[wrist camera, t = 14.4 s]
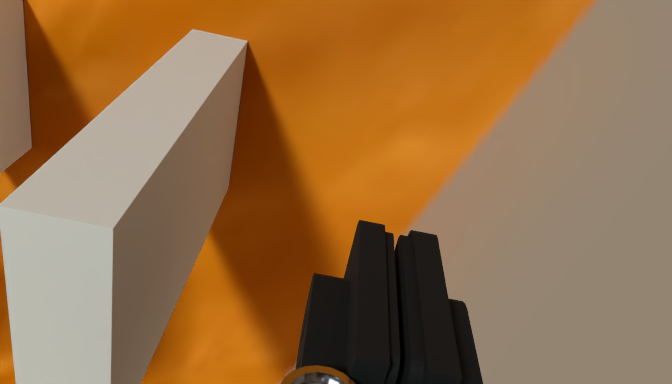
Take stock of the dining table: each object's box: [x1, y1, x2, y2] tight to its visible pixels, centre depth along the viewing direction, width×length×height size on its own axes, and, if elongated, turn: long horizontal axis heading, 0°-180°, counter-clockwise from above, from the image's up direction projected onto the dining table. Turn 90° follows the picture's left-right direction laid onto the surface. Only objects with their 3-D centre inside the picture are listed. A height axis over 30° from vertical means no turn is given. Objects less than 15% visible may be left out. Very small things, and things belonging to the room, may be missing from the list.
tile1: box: [0, 29, 248, 384], centre depth 14 cm, size 2×5×10 cm, turn 168°
